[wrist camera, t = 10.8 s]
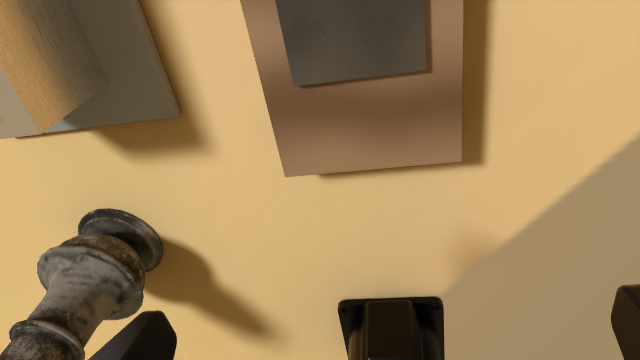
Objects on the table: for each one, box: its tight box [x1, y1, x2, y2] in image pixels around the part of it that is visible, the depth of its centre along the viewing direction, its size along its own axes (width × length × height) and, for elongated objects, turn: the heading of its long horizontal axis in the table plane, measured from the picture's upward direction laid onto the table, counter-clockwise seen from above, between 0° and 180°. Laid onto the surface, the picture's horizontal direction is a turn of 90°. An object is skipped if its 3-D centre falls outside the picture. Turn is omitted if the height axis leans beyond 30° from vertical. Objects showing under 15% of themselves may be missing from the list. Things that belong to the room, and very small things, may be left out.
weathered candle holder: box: [0, 209, 163, 360], centre depth 22 cm, size 6×6×12 cm
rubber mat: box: [43, 0, 181, 133], centre depth 19 cm, size 12×10×1 cm
